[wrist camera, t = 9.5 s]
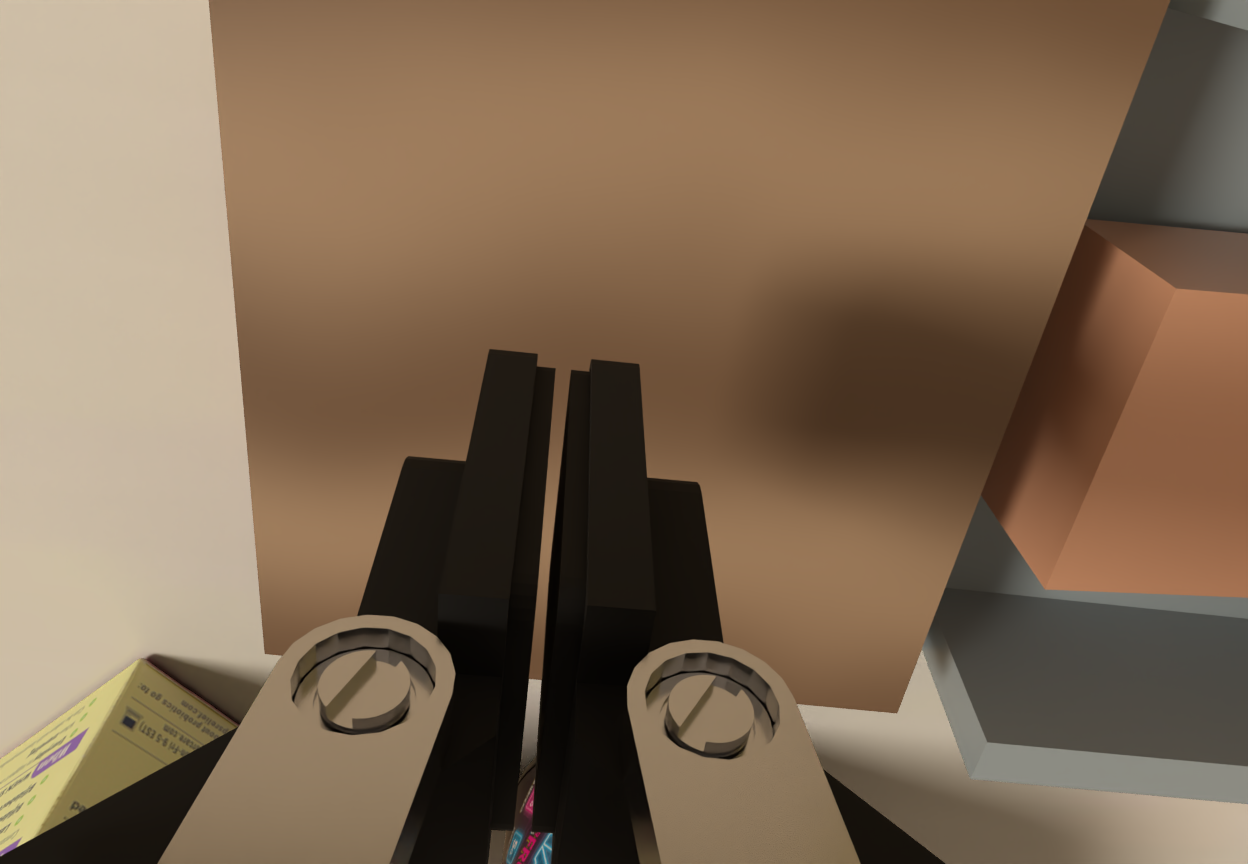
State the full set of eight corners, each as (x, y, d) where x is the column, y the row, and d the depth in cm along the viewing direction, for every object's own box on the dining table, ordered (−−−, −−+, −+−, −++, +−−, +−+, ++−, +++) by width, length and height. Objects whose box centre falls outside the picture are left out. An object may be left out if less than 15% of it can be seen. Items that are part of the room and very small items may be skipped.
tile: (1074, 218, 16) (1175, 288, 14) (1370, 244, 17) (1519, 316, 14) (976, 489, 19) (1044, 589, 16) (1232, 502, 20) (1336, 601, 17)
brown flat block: (295, -162, 15) (195, -166, 11) (1056, -51, 15) (1179, -24, 12) (323, 525, 21) (264, 654, 18) (855, 579, 22) (897, 713, 19)
